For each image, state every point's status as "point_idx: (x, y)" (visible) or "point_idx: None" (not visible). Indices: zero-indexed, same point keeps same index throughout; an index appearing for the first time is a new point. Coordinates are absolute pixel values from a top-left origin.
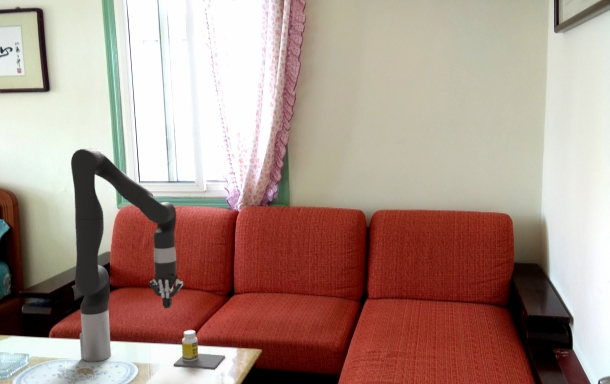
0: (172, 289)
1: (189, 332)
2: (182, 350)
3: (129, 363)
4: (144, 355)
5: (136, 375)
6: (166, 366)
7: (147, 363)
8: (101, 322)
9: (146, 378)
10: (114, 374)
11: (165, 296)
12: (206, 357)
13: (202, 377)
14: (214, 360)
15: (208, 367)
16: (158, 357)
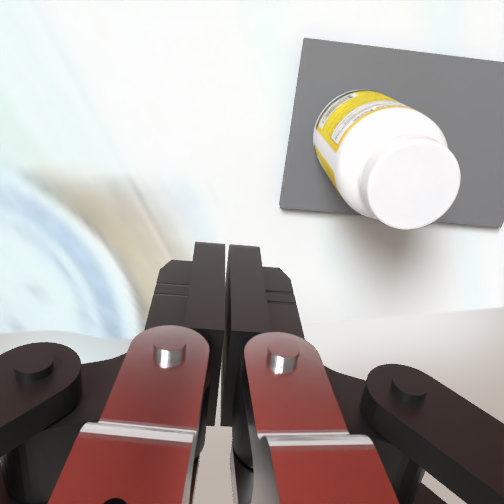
0: (361, 454)
1: (415, 194)
2: (328, 176)
3: (20, 196)
4: (39, 78)
5: (139, 313)
6: (243, 214)
7: (122, 188)
8: None
9: None
10: (28, 313)
11: (205, 427)
12: (448, 108)
13: (446, 303)
14: (498, 145)
15: (469, 224)
16: (145, 102)
